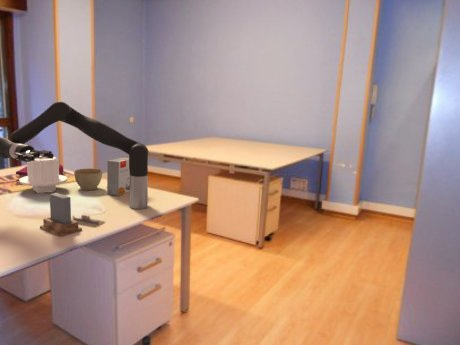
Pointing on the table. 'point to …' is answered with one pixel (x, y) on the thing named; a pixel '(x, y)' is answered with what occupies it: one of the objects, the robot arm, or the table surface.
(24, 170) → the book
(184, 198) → the table surface
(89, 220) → the table surface
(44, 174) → the ribbed cylinder on disc
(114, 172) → the hard drive box
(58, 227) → the rack
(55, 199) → the grey upright flat block
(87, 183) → the planter bowl
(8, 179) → the table surface
